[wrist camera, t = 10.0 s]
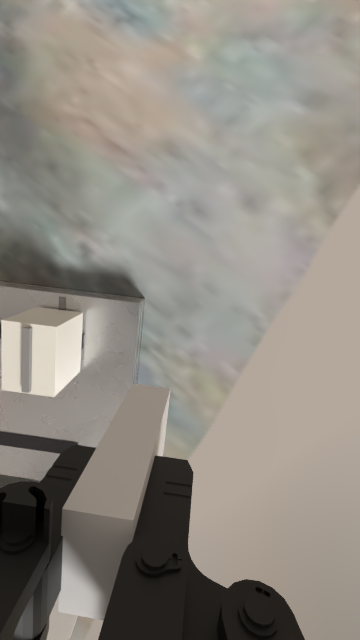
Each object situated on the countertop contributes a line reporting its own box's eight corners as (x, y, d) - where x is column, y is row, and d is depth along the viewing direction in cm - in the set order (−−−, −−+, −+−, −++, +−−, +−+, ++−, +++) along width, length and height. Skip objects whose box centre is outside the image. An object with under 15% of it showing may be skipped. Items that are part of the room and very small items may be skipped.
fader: (36, 365, 23) (-2, 392, 19) (37, 306, 22) (-3, 321, 18) (80, 371, 23) (51, 399, 19) (83, 312, 22) (54, 328, 18)
